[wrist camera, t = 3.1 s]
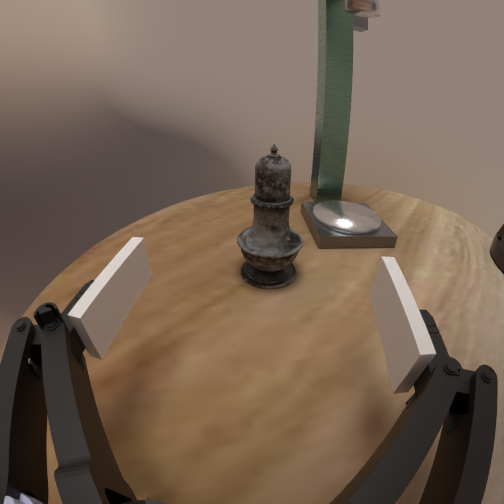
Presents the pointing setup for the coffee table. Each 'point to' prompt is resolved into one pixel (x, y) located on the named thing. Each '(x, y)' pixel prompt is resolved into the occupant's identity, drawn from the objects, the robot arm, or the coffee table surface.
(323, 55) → the arbor press
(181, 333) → the coffee table surface
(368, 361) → the coffee table surface
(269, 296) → the coffee table surface
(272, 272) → the dark chess piece
